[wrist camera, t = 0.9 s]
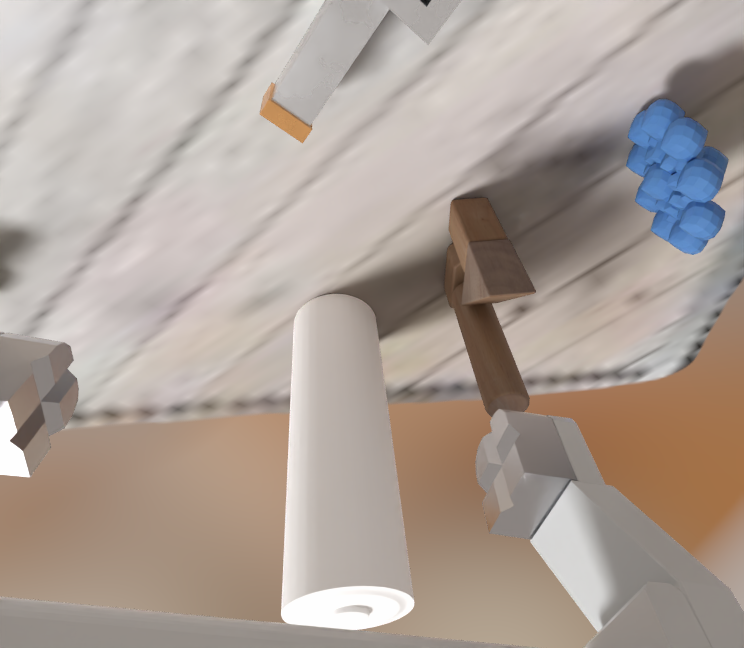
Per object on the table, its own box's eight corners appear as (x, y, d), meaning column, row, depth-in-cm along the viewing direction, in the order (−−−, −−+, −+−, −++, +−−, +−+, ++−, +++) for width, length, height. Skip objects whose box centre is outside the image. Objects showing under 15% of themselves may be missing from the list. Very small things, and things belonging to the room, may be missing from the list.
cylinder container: (366, 285, 53) (403, 585, 31) (383, 344, 59) (423, 626, 37) (282, 304, 53) (260, 609, 32) (308, 360, 60) (304, 646, 38)
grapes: (682, 186, 48) (764, 259, 39) (610, 210, 49) (675, 286, 40) (693, 63, 40) (799, 120, 31) (608, 95, 41) (687, 159, 32)
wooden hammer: (488, 195, 47) (555, 326, 33) (475, 284, 54) (527, 420, 41) (449, 198, 46) (502, 331, 33) (442, 287, 54) (483, 424, 41)
